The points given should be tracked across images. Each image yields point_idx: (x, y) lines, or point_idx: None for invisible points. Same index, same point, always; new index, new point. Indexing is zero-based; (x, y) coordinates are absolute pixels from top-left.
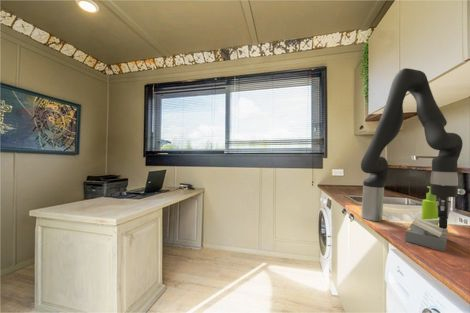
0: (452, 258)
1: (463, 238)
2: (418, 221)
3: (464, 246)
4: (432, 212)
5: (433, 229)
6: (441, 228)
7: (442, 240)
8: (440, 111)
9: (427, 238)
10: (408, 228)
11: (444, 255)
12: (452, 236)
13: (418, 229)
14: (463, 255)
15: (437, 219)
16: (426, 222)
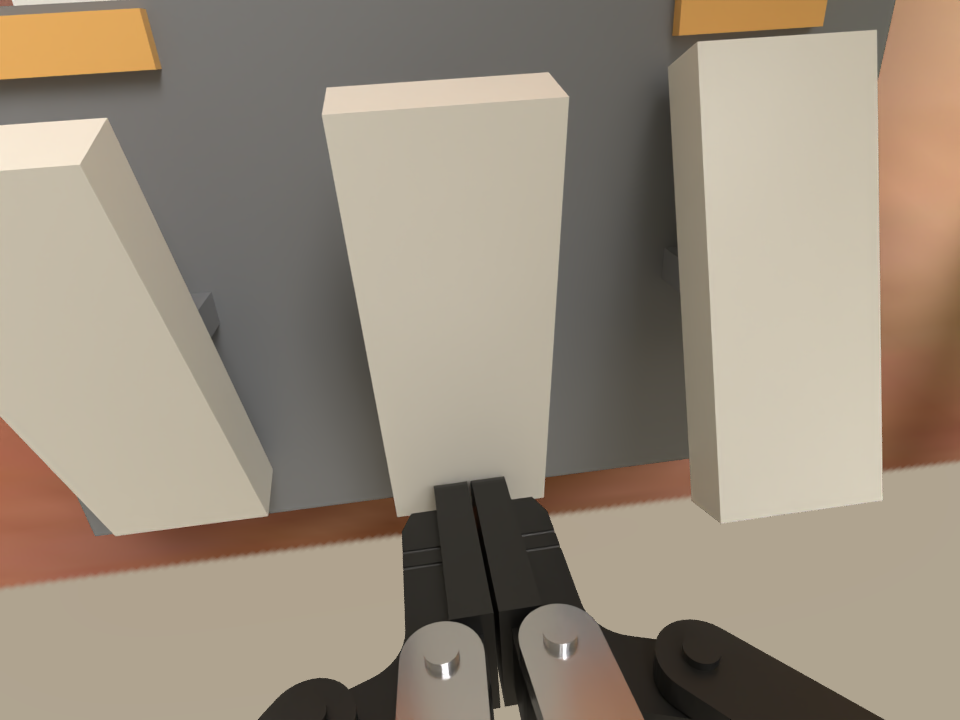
0: (10, 514)
1: (892, 458)
2: (70, 258)
3: (581, 506)
4: None
5: (142, 465)
6: (423, 503)
7: (85, 508)
8: None
9: None
10: (89, 23)
11: (11, 461)
12: (891, 387)
13: (325, 174)
14: (246, 545)
15: (782, 453)
16: (441, 329)
